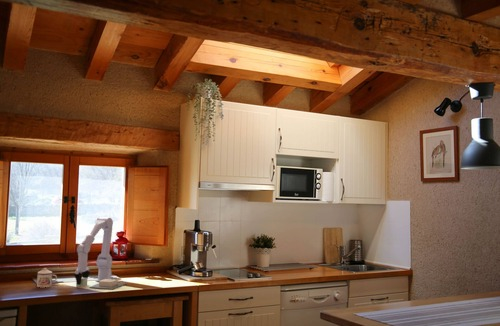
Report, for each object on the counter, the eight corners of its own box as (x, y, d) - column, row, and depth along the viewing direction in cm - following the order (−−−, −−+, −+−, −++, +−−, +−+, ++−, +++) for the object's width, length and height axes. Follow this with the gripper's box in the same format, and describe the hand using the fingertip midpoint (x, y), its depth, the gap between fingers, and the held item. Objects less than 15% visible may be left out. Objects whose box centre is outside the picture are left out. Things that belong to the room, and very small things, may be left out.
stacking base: (104, 282, 337) (104, 277, 338) (126, 284, 334) (126, 278, 334) (89, 288, 318) (89, 282, 318) (112, 289, 315) (112, 283, 315)
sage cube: (80, 284, 328) (80, 277, 329) (87, 285, 327) (87, 277, 328) (76, 286, 324) (76, 278, 324) (83, 286, 323) (83, 278, 323)
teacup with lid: (36, 288, 313) (37, 269, 314) (36, 285, 322) (37, 267, 322) (56, 287, 317) (57, 269, 318) (56, 284, 326) (57, 266, 327)
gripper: (83, 260, 334) (82, 281, 334) (71, 263, 320) (70, 284, 319) (92, 261, 333) (91, 281, 332) (81, 264, 319) (80, 285, 318)
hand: (81, 283), depth 326 cm, fingers open, 7 cm apart
